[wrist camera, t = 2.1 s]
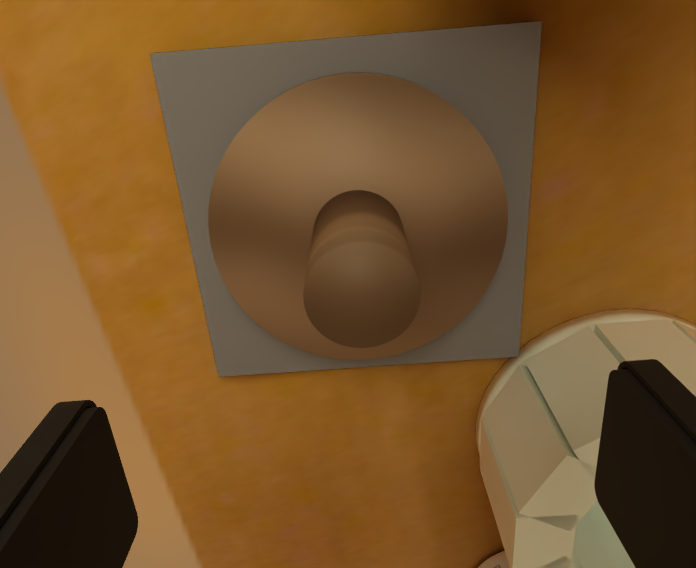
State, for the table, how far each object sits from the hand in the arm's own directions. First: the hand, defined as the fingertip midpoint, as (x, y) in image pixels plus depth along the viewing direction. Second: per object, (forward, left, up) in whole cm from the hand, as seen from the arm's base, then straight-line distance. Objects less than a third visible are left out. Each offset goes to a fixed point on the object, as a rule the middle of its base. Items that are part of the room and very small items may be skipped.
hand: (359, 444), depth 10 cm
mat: (-1, 0, -11) cm, 11 cm away
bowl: (+9, +10, -11) cm, 18 cm away
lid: (-1, 0, -10) cm, 10 cm away
